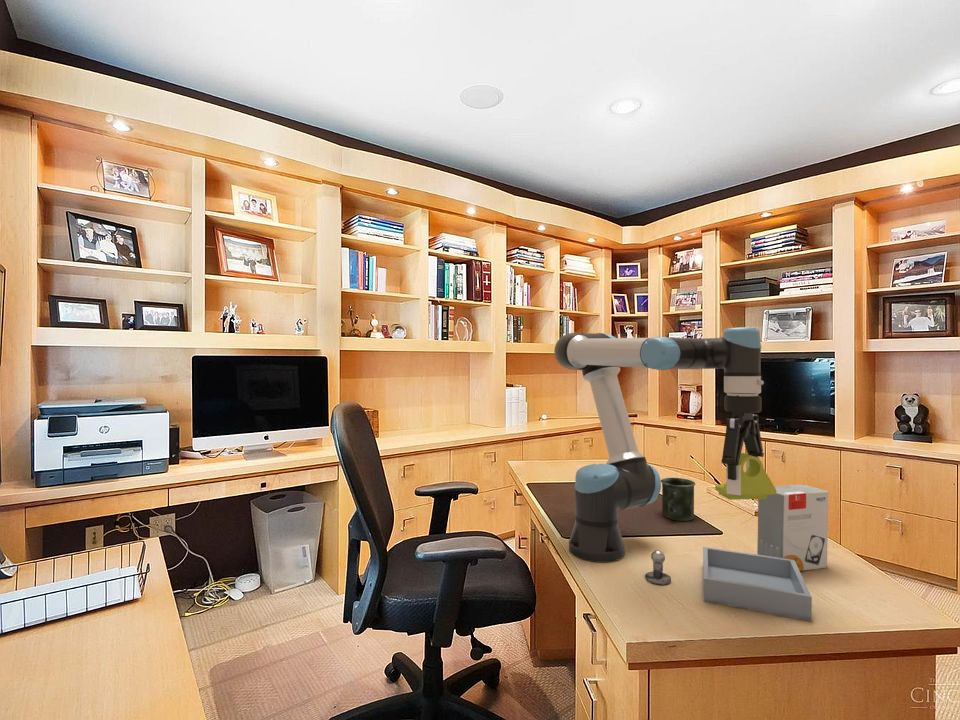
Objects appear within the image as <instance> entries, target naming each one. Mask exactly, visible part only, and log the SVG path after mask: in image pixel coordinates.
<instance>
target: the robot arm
mask: <svg viewBox="0 0 960 720" xmlns="http://www.w3.org/2000/svg"><path fill="white" fill-rule="evenodd" d="M761 351H762V344H761V331H760V330H759V329H758V328H757V327H752V326H751V327H750V326H749V327H745V326H743V327H729V328H725V329H724V330H723V334H722V336H721V337H713V338H711V337H710V338H708V337H707V338H706V337H705V338H698V337H697V338H695V337H693V338H692V337H691V338H690V337H667V336H656V337H616V336H613V335H612V334H607V333H603V332H597V333H592V332H591V333H590V332H570V333H567V334H564V335H562V336H561V337H560V338H559V339H558V340H557V342H556V343H555V346H554V356H555V357H554V358H555V360H556V362H557V363H558V364H559V365H560V366H562V368H565V369H567V370H572V371H581V372H582V377H583V379H584V380H585V381H587V382H589V385H590V388H591V392H592V396H593V399H594V403H595V407H596V411H597V416H598V418H599V419H598V420H599V422H600V426H601V431H602V434H603V438H604V443H605V446H606V450H607V454H608V459H607V461H606V463H598V464H596V463H593V464H587V465H584V466H582V467H580V468H579V469H578V470H577V471H576V473H575V478H574V479H575V481H574V498H575V499H574V500H575V501H574V502H575V504H574V508H575V509H574V513H575V515H574V516H575V517H574V519H575V520H574V524H573V528H572V532H571V534H570V537H569V539H568V540H569V541H568V551H569V552H570V554H571V555H573V556H574V557H576V558H578V559H581V560H584V561H590V562H596V563H610V562H616V561H619V560H621V559H623V558H624V557H625V553H626V547H625V543H624V540H623V536H622V534H621V531H620V527H619V511H624V510H630V509H635V508H641V507H645V506H647V505H650V504H652V503H654V502H655V501H656V500H657V499H658V497H659V495H660V493H661V491H662V482H661V480H662V479H661V477H660V474H659V472H658V470H657V469H656V468H654V466H653V465H652V464H649V463H647V459H646V455H644V454H642V453H641V452H639V450H638V446H637V443H636V440H635V439H636V438H635V436H634V431H633V428H632V424H631V421H630V417H629V414H628V410H627V407H626V403H625V399H624V396H623V393H622V389H621V386H620V385H621V384H620V382H619V378H618V374H619V373H620V372H621V367H623V368H641V369H652V370H657V371H662V370H663V371H665V370H709V369H711V370H712V369H713V370H714V369H715V370H716V369H720V370H723V392H724V393H725V394H726V395H725V396H724V397H723V398H724V401H723V402H724V408H723V409H724V410H725V412H728V413H732V417H731V418H728V417H727V418H726V420H725V423H726V424H725V427H726V428H725V433H724V435H725V436H724V442H723V443H724V444H723V448H722V449H723V451H722V456H721V457H722V458H721V464H723V465H725V468H726V471H725V473H726V474H725V475H726V478H725V480H726V482H727V493H728V494H734V495H741V465H738V464H739V460H740V456H741V453H742V450H743V445H744V446H745V450H746V454H748V455H751V456H754V457H757V458H759V459H760V457H761V458H764V457H765V456H764V455H765V452H763V451H764V448H763V443H762V437H761V430H760V424H759V422H760V421H759V414H758V413H761V412H762V408H763V407H762V405H763V404H762V400H763V399H762V396H761V395H759V394H761V393H762V386H763V385H764V384H765V382H764V380H762V373H761V372H762V371H761V361H762V359H761V355H762V352H761ZM760 460H761V459H760ZM748 468H749V460H748V461H746V462H745V472H746V471H747V470H748Z"/></svg>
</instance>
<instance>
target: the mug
mask: <svg viewBox="0 0 960 720" xmlns="http://www.w3.org/2000/svg"><path fill="white" fill-rule="evenodd" d="M660 480H661V493H662V494H661V501H662V502H661V508H662V509H661V511H662V512H661V513H662V516H663V517H664V518H666V519H668V520H672V521H676V522H677V521H678V522H688V521H691V520H694V517H695V486H696V483H695V481H693V480H691V479H687V478H681V477H680V478H679V477H664V478H661V479H660Z"/></svg>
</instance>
